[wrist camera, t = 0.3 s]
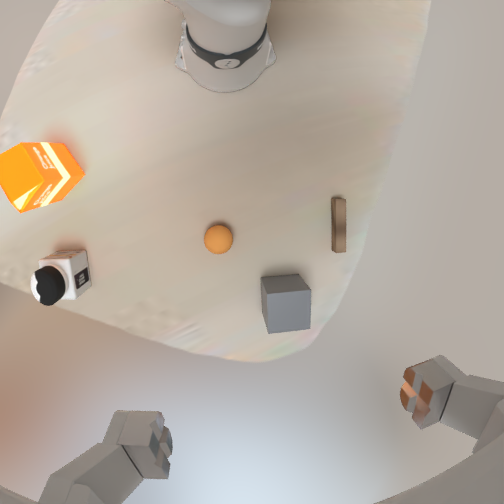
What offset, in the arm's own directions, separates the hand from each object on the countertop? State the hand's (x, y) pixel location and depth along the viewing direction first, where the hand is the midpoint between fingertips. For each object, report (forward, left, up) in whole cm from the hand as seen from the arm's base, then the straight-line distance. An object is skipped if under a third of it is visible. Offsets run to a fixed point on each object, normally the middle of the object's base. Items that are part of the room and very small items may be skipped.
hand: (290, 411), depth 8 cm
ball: (+2, -3, -44) cm, 44 cm away
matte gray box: (+14, +8, -47) cm, 49 cm away
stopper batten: (+1, +19, -46) cm, 50 cm away
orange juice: (-14, -34, -47) cm, 60 cm away
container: (+6, -34, -47) cm, 58 cm away
